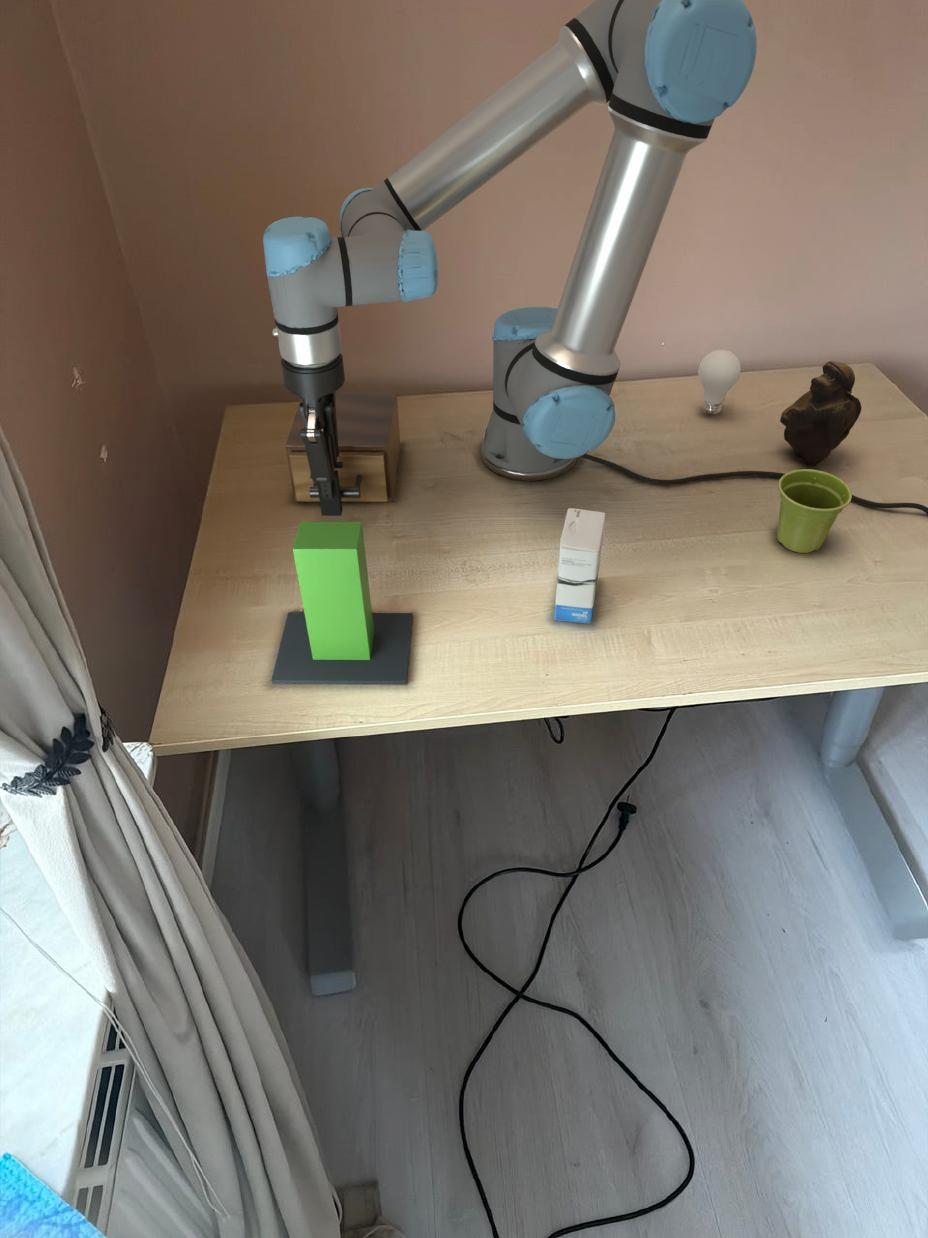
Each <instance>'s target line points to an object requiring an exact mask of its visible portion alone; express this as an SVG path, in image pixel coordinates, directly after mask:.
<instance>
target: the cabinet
mask: <svg viewBox="0 0 928 1238" xmlns="http://www.w3.org/2000/svg"><path fill="white" fill-rule="evenodd" d="M335 399H336V401H335V405H336V419H337V433H338V448H339V451H383V452H384V456H385V467H386V479H387V490H388V500H387V501H342V502H345V503H346V502H350V503H351V502H358V503H359V502H362V503H363V502H364V503H365V502H366V503H367V502H368V503H369V502H370V503H371V502H373V503H374V502H375V503H376V502H377V503H378V502H380V503H381V502H384V503H385V502H388V503H389V502H394V495H395V494H394V493H395V486H396V481H397V473H398V465H399V458H400V451H401V435H400V420H399V407H398V393H397V391H335ZM300 402H303V399H302V398H301V397H300V399H299V403H298V405H297V408H296V409H297V410H296V412H295V415H294V418H293V421H292V425H291V428H290V430H289V435H288V438H287V440H286V444H285V451H286V456H287V463H288V468H289V475H290V480H291V486H292V491H293V497H294V501H295V502H298V501H297V498H296V492H295V487H294V481H293V475H292V469H291V463H290V457H289V455H290V452H298V451H306V449H305V445H304V442H303V440H302V438H301V435H300V431H301V429H302V428H304V421H303V418H302V416H301V414H300ZM311 502H316V503H317V502H319V503H320V501H311Z"/></svg>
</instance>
